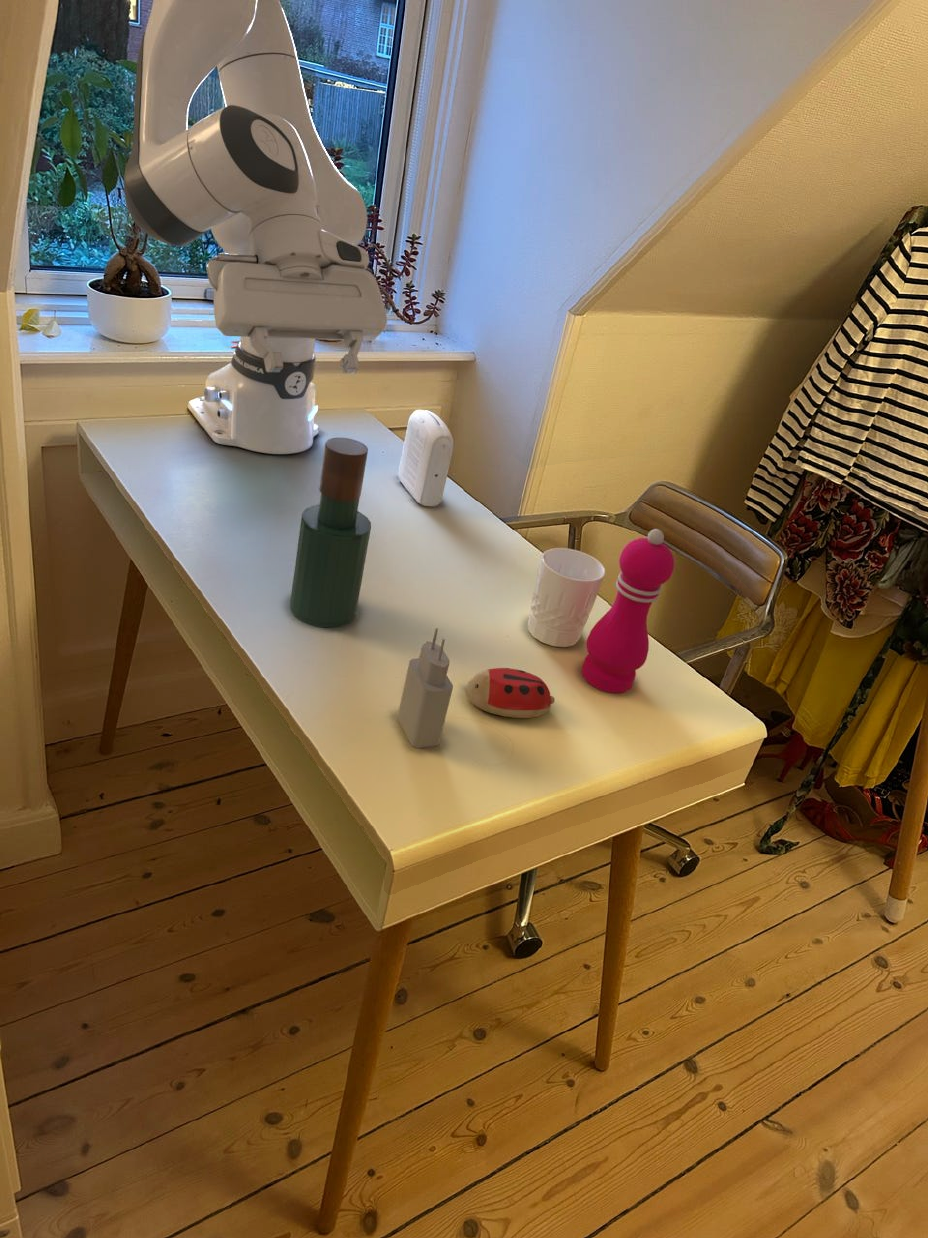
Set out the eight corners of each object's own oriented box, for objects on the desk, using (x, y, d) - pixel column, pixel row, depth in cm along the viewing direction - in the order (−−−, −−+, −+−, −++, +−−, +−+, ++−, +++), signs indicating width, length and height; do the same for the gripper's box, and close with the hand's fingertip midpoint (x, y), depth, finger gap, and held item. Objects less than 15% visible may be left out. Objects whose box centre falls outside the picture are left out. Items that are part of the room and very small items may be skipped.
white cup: (512, 616, 123) (531, 548, 118) (565, 614, 126) (585, 547, 121) (539, 652, 117) (560, 582, 112) (594, 648, 120) (617, 580, 115)
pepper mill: (634, 703, 112) (690, 553, 102) (574, 685, 113) (624, 534, 102) (637, 670, 118) (690, 525, 108) (580, 653, 119) (627, 508, 108)
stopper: (308, 506, 108) (317, 439, 104) (341, 500, 111) (351, 435, 107) (331, 524, 106) (342, 457, 102) (365, 518, 109) (376, 452, 105)
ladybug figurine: (461, 680, 109) (467, 654, 107) (545, 690, 111) (553, 664, 109) (466, 717, 103) (473, 690, 101) (555, 727, 105) (564, 701, 103)
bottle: (277, 600, 115) (291, 481, 107) (331, 586, 120) (348, 472, 112) (314, 633, 111) (332, 513, 103) (368, 618, 116) (389, 502, 108)
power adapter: (422, 712, 102) (444, 617, 96) (441, 745, 98) (465, 648, 92) (395, 714, 101) (415, 618, 95) (413, 748, 97) (435, 650, 91)
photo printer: (444, 507, 146) (461, 430, 140) (418, 507, 144) (434, 429, 138) (418, 476, 154) (433, 403, 147) (393, 476, 152) (407, 401, 145)
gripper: (211, 236, 105) (234, 356, 103) (379, 251, 115) (403, 360, 114) (196, 266, 110) (217, 381, 108) (358, 278, 121) (380, 383, 119)
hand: (314, 370), depth 111 cm, fingers open, 8 cm apart
